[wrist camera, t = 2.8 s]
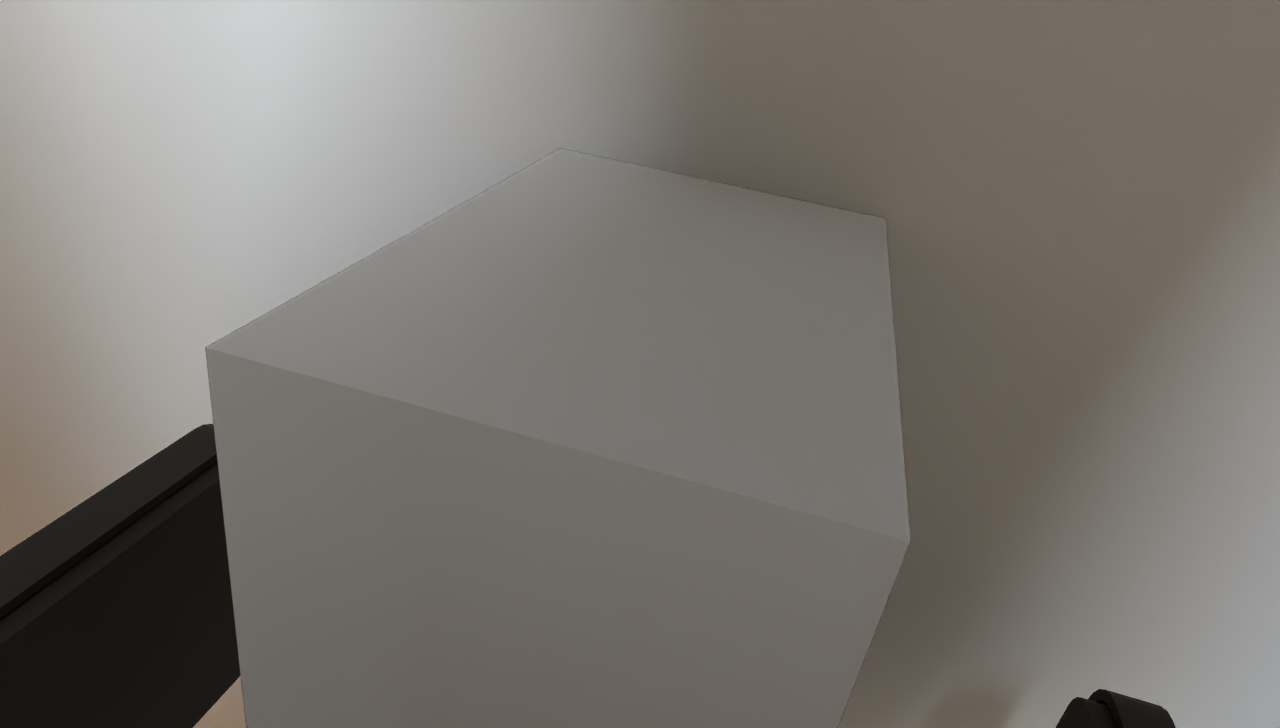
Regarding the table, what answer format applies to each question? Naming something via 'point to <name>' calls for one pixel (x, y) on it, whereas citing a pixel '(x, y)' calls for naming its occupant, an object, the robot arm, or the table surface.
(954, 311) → the table surface
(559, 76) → the table surface
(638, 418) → the rectangular block
